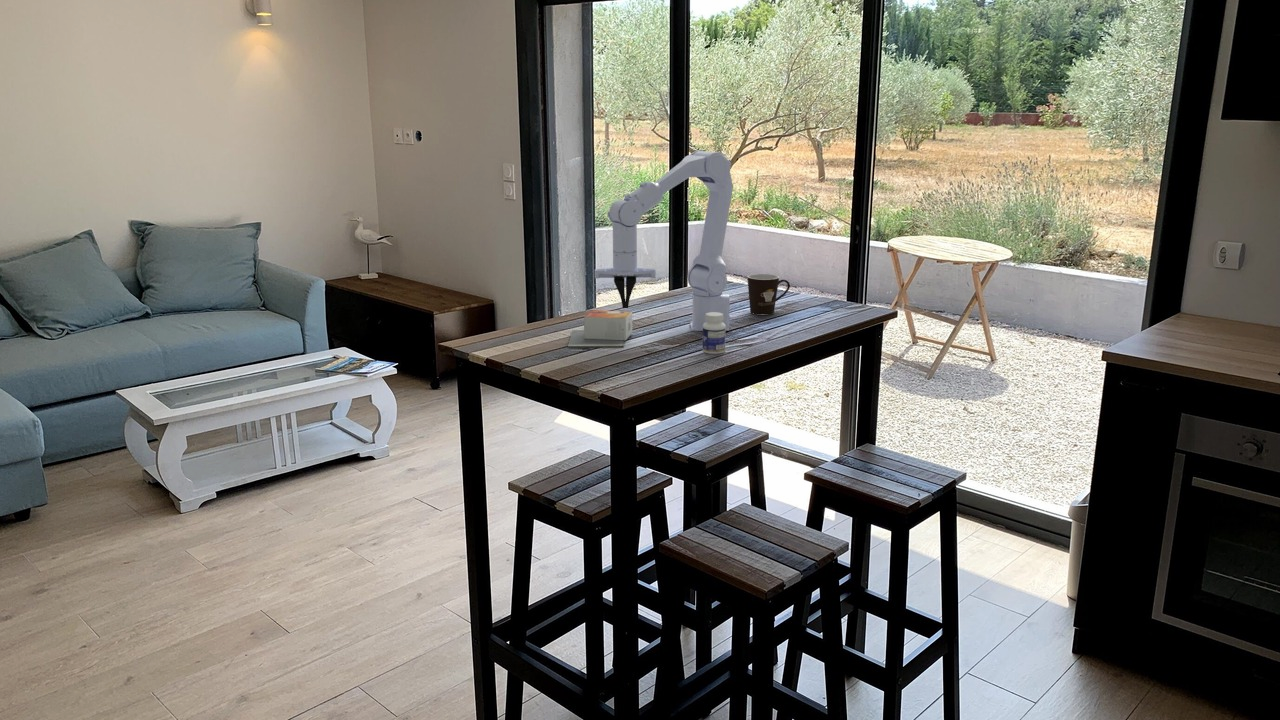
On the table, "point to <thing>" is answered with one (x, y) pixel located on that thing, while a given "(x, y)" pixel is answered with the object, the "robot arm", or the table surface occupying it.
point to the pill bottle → (714, 333)
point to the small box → (608, 325)
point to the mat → (591, 341)
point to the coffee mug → (764, 292)
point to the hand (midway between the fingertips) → (625, 307)
